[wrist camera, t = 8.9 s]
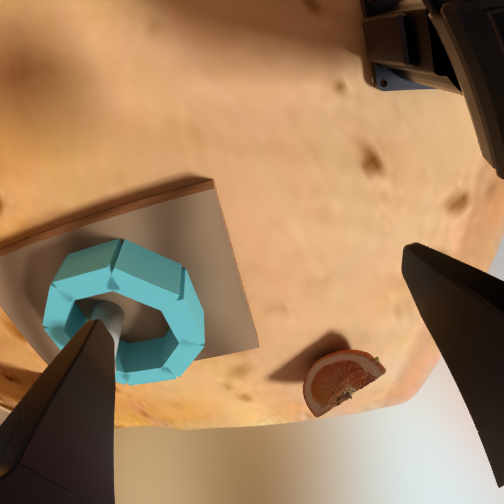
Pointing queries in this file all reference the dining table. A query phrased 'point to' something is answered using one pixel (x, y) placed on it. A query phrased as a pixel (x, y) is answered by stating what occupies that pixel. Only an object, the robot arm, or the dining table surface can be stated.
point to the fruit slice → (338, 378)
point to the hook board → (154, 239)
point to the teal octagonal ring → (137, 288)
